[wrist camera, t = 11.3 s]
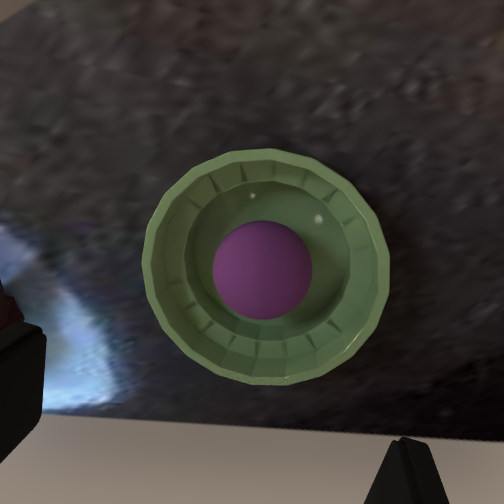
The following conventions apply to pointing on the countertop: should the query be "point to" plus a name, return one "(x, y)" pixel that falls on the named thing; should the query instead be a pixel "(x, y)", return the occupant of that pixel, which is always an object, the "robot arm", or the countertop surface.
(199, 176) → the bowl
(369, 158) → the countertop surface
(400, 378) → the countertop surface
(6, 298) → the brown gnome figurine
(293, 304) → the ball
